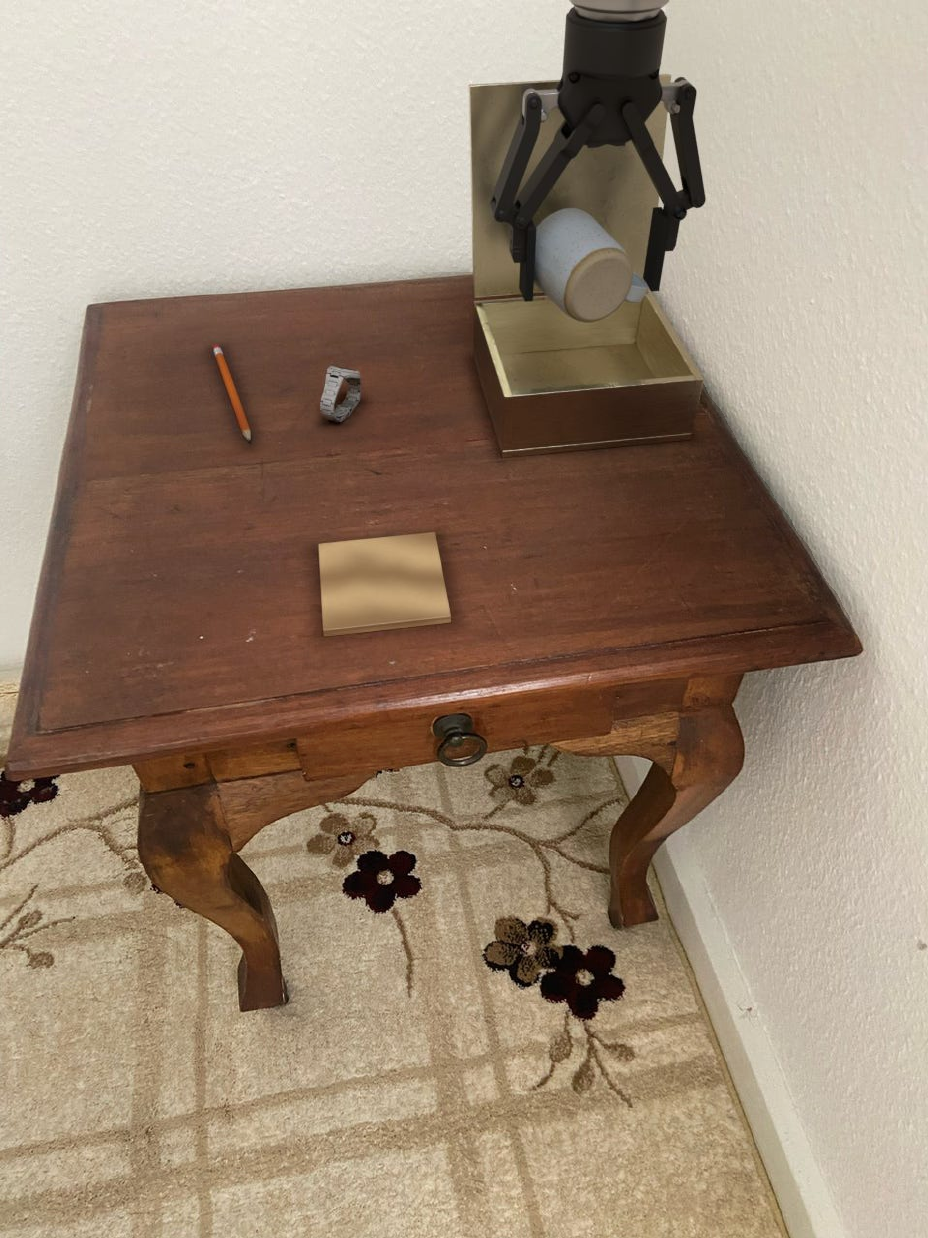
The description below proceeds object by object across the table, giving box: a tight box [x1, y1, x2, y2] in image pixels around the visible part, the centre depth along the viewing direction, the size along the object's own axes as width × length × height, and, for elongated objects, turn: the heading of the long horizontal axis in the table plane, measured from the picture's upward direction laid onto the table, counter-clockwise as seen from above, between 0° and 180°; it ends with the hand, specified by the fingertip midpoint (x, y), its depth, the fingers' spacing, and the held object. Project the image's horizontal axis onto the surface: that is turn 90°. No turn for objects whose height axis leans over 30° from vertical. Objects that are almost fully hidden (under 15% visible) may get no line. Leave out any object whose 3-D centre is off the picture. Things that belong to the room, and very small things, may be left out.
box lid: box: [468, 73, 672, 298], centre depth 86 cm, size 19×19×5 cm
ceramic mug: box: [534, 208, 649, 323], centre depth 79 cm, size 11×8×8 cm
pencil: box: [212, 343, 252, 444], centre depth 90 cm, size 1×19×1 cm, turn 21°
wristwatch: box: [319, 365, 363, 423], centre depth 86 cm, size 4×6×5 cm, turn 158°
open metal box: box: [473, 287, 705, 459], centre depth 87 cm, size 18×19×7 cm
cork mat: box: [317, 531, 452, 638], centre depth 71 cm, size 10×10×1 cm
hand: (588, 289), depth 81 cm, fingers closed on ceramic mug, 11 cm apart
